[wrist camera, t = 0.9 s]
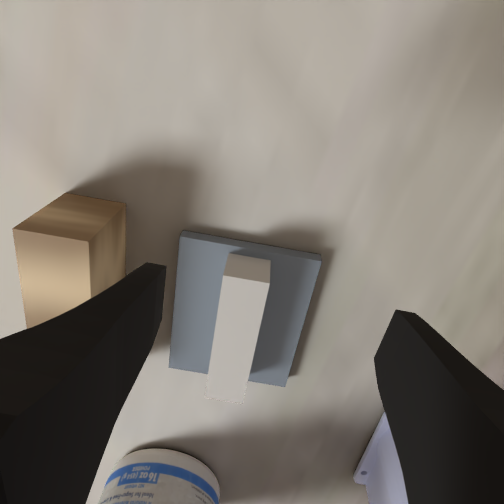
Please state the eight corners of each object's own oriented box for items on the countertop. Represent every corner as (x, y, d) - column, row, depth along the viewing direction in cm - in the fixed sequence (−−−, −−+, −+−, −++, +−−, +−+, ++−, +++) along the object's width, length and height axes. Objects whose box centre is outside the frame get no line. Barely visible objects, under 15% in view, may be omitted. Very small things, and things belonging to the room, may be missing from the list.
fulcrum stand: (284, 378, 27) (285, 417, 24) (171, 359, 27) (158, 395, 24) (320, 254, 22) (326, 284, 19) (183, 230, 22) (168, 257, 19)
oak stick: (125, 359, 27) (95, 419, 23) (77, 351, 27) (38, 410, 23) (127, 202, 22) (88, 241, 17) (66, 191, 22) (12, 228, 17)
